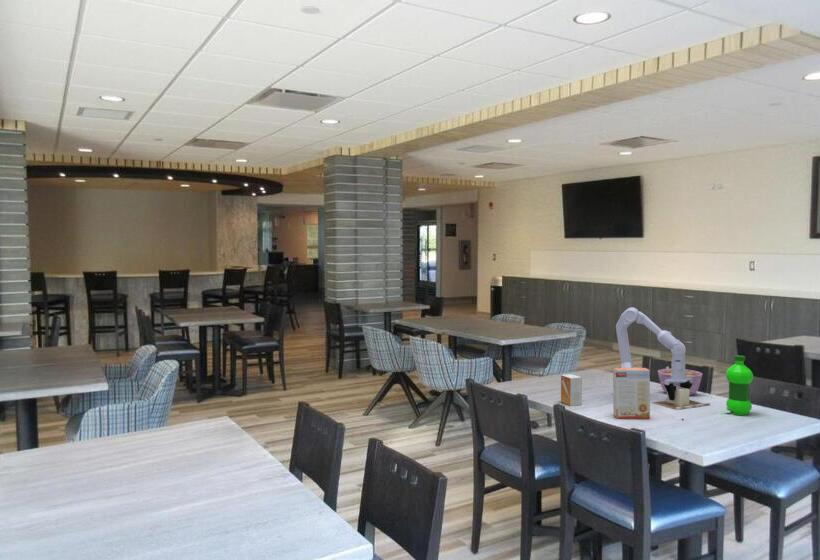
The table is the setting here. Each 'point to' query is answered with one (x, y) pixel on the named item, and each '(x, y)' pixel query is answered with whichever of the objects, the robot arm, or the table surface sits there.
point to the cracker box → (631, 393)
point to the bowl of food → (695, 376)
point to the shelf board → (676, 407)
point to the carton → (680, 397)
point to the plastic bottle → (739, 387)
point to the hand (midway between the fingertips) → (677, 399)
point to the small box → (571, 389)
